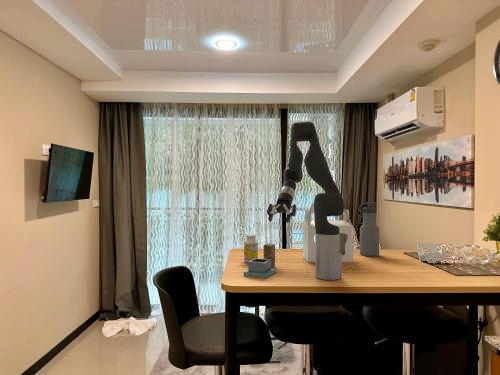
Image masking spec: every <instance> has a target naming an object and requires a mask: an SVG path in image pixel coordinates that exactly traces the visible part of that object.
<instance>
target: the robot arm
mask: <svg viewBox="0 0 500 375" xmlns="http://www.w3.org/2000/svg"><path fill="white" fill-rule="evenodd" d="M289 132H290V133H289V134H290V136H289V137H290V138H289V140H290V141H289V144H290V145H289V149H290V152H289V160H288V164H287V165H288V166H287V167H286V168H285V169H284V171H283V172H282V173H283V182H282V187H281V189H280V191H279V193H278V197H277V200H276V203H275V204H273V203H269V205H268V207H267V210H266V214H267V216H268V218H267V219H268V221H269V223H271V222H272V221H273V218H274V216H275V215H278V214H286V218H285V223H286V224H288V223H290V221H291V218H292V217H296V214H297V208H298V207H297V205H296V203H295V204H293V201H294V197H295V192H296V189H297V184H298V183H300V182H302V180H303V176H304V174H303V169H302V168H303V167H302V166H303V163H304V166H305V170H306V173H307V175H308V176H309V177H310V178H311V180H313V181H314V182H315V183H316V184H317V185H319V186H320V187H321V188H322V190H323V191H324V192H319V193H317V194H316V195H315V196H314V198H313V199H314V200H313V203H314V213H313V215H314V216H313V217H314V219H313V220H315V229H316V234H315V244H316V262H315V277H316V279H319V280H325V281H326V280H327V281H336V280H339V279H342V278H343V276H342V275H343V274H342V273H343V272H342V270H343V262H342V254H341V253H339V236H340V230H339V227H338V226H336V225H333V224H331V223H329V222H328V220H329V219H328V217H339V216H343V212H344V209H345V201H344V198H343V196H342V194H341V191H340V190H339V187H338V186H337V184H336V182H335V180H334V177H333V176H332V173H331V170H330V167H329V164H328V162H327V159H326V156H325V154H324V152H323V149H322V147H321V144H320V140H319V137H318V133H317V129H316V127H315V124H314V122H312V121H311V120H310V121H309V120H308V121H307V120H306V121H296V122H293V123H291V126H290V131H289ZM298 142H299V143H300V142H301V143H302V142H309V148H308V150H307V151H306V154H305V156H304V154H303V151H302V150H301V149H300V148H299V145H298ZM292 204H293V205H292Z"/></svg>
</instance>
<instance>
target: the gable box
mask: <svg viewBox="0 0 500 375" xmlns="http://www.w3.org/2000/svg"><path fill="white" fill-rule="evenodd" d="M312 214H314V202H313V203H311V204H310V207H309V209H305V216H304V220H303V223H302V224H303V225H302V229H303V230H302V233H303V234H302V235H303V236H302V238H303V239H302V241H303V242H302V250H303V251H302V252H303V254H302V257H303V258H304V259H305V260H306V262H307V263H316V241H315V238H314V237H315V236H316V229H315V219H312ZM327 220H328V222H329V223H331V224H333V225H336V226H338V227H339V230H340V234H339V253H341V254H342V263H354V225H353V223H352V220H351V218H350V211H349V209H345V208H344V212H343V214H342V220H341V219H340V220H339V219H331V220H330V219H327Z"/></svg>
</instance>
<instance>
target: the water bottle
mask: <svg viewBox="0 0 500 375" xmlns="http://www.w3.org/2000/svg"><path fill="white" fill-rule="evenodd" d="M367 205H369V206H367ZM376 205H377V203H376V202H375V201H374V202H373V201H371V202H370V201H367V202H362V203H361V204H359V206H358V212H359V214H358V216H357V217H358V220H357V222H358V225H361V226H360V227H359V254H360V255H361V256H363V255H365V256H364V257H379V256H380V227H379V226H378V225H377V212H378V211H377V207H376ZM361 216H362V222H361Z"/></svg>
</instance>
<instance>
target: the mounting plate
mask: <svg viewBox="0 0 500 375" xmlns="http://www.w3.org/2000/svg"><path fill="white" fill-rule="evenodd" d="M274 274H276V268H271V270H269V271H268V272H266V273H258V272H249V271H248V269H246V270H244V271H243V276H244V275H246V277H253V278H262V279H268V278H269V277H271V276H273V275H274Z"/></svg>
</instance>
